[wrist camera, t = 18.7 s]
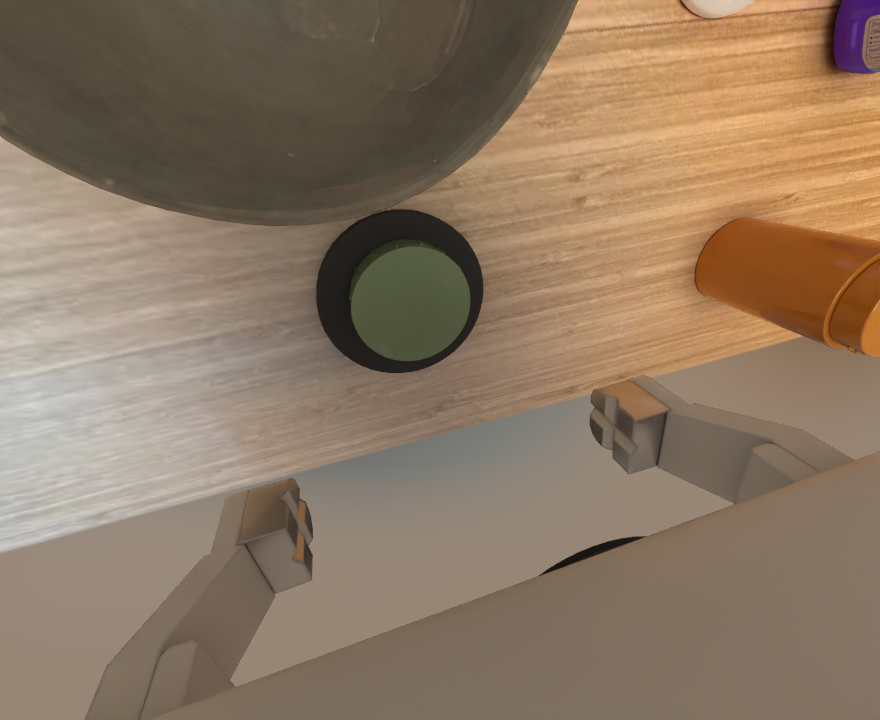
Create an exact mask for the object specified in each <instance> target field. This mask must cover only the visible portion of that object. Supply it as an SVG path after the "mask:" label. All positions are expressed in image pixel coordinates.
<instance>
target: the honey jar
mask: <svg viewBox="0 0 880 720" xmlns="http://www.w3.org/2000/svg"><path fill="white" fill-rule="evenodd" d="M695 278H696V284H697V287H698V289H699V291H700V292H701V293H702V294H703V295H704V296H706V297H708V298H710V299H713V300H715V301H718V302H720V303H723V304H725V305H728V306H730V307H733V308H735V309H738V310H740V311H743V312H745V313H748V314H750V315H752V316H755V317H757V318H760V319H762V320H765V321H767V322H770V323H772V324H775V325H777V326H780V327H782V328H785V329H787V330H790V331H792V332H795V333H797V334H800V335H802V336H805V337H807V338H810V339H812V340H815V341H817V342H820V343H822V344H824V345H827V346H829V347H832V348H836V349H844V348H847V349H849V350H850V351H851V352H854V353H857V354H864V355H867V356H874V357H878V356H880V241H877V240H871V239H866V238H860V237H854V236H849V235H843V234H838V233H832V232H826V231H821V230H815V229H810V228H804V227H798V226H793V225H787V224H782V223H776V222H770V221H765V220H759V219H754V218H741V219H738V220H735V221H732V222H730V223H729V224H727V225H725V226H724V227H723V228H721V229H720V230H719V231H718V232H717V233H716V234H715V235H714V236H713V237H712V238H711V239H710V241H709V242H708V243H707V245H706V246H705V248H704V249H703V251H702V253H701V255H700V258H699V260H698V263H697V267H696V274H695Z"/></svg>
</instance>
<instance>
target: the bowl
mask: <svg viewBox="0 0 880 720" xmlns="http://www.w3.org/2000/svg"><path fill="white" fill-rule="evenodd" d="M577 1H578V0H0V136H1V137H2V138H4V139H5V140H7V141H8V142H10V143H12V144H13V145H15V146H17V147H18V148H20V149H21V150H23V151H25V152H26V153H28V154H30V155H32V156H34V157H35V158H37V159H39V160H41V161H43V162H45V163H47V164H49V165H51V166H53V167H55V168H57V169H59V170H61V171H63V172H65V173H67V174H69V175H71V176H74V177H76V178H78V179H80V180H82V181H85V182H87V183H89V184H91V185H93V186H96V187H98V188H100V189H103V190H106V191H109V192H112V193H115V194H118V195H121V196H124V197H127V198H129V199H132V200H135V201H138V202H141V203H144V204H148V205H151V206H155V207H159V208H163V209H166V210H170V211H175V212H179V213H184V214H188V215H193V216H198V217H203V218H208V219H213V220H218V221H226V222H234V223H242V224H252V225H266V226H288V225H311V224H319V223H328V222H334V221H340V220H346V219H351V218H355V217H359V216H363V215H366V214H370V213H373V212H377V211H379V210H382V209H385V208H388V207H390V206H392V205H395V204H397V203H400V202H402V201H404V200H406V199H408V198H410V197H412V196H414V195H416V194H418V193H420V192H422V191H424V190H426V189H428V188H429V187H431V186H433V185H435V184H436V183H438V182H439V181H441V180H442V179H444V178H445V177H447V176H448V175H450V174H451V173H453V172H454V171H455V170H457V169H458V168H459V167H461V166H462V165H463V164H464V163H466V162H467V161H468V160H469V159H471V158H472V157H473V156H474V155H476V154H477V153H478V152H479V151H480V150H481V149H482V148H483V147H484V146H485V145H486V144H487V143H488V142H489V141H490V140H491V139H492V138H493V137H494V136H495V134H496V133H497V132H498V131H499V130H500V128H501V127H502V126H503V125H504V124H505V122H506V121H507V120H508V119H509V118H510V116H511V115H512V114H513V113H514V112H515V110H516V109H517V108H518V106H519V105H520V104H521V102H522V101H523V99H524V98H525V97H526V95H527V94H528V92H529V91H530V89H531V88H532V87H533V85H534V84H535V82H536V81H537V79H538V78H539V76H540V75H541V73H542V71H543V70H544V68H545V66H546V64H547V62H548V61H549V59H550V57H551V55H552V53H553V52H554V50H555V48H556V46H557V44H558V43H559V41H560V39H561V37H562V35H563V34H564V32H565V30H566V28H567V25H568V23H569V20H570V18H571V16H572V13H573V11H574V9H575V6H576V4H577Z"/></svg>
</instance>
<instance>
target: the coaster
mask: <svg viewBox="0 0 880 720" xmlns="http://www.w3.org/2000/svg"><path fill="white" fill-rule="evenodd" d="M416 238H417V239H419V240H420V241H424V242H427V243H429V244H432V245H434V246H435V247H440V248H441V249H442V250H443V251H444V252H445V254H446V255H447V256H448V257H449V258H451V259H452V260H453V261H454V262H455V263H456V264H457V265H458V266H459V267H460V268H461V271H462V272H463V274H464V276H465V278H466V280H467V283H468V286H469V291H470V310H469V314H468V318H467V320H466V323H465V325H464V327H463V329H462V331H461V332H460V334H459V335H458V336H457V338H456V339H455V340H454V341H453V342H452V343H451V344H450V345H449V346H448V347H446V348H445V349H444V350H442V351H441V352H439V353H437V354H435V355H433V356H431V357H428V358H425V359H421V360H416V361H399V360H393V359H390V358H387V357H384V356H382V355H380V354H378V353H376V352H375V351H373V350H372V349H371V348H370V347H368V346H367V345H366V344H365V343H364V341H363V340H362V339H361V337H360V336H359V334H358V333H357V331H356V329H355V326H354V323H353V322H352V320H351V315H350V312H351V309H350V303H349V295H348V290H350V284H351V280H352V278H353V275H354V273H355V268H357V267H358V266H359V264H360V263H361V262H362V260H363V259H364V258H365V257H366V256H367V255H368V254H369V253H371V250H372V251H373V250H375V249H376V248H378V247H380V246H381V245H383V244H386V243H388V242H392V240H393V239H394V240H395V241H396V240H402V239H414V240H416ZM482 299H483V278H482V273H481V268H480V265H479V262H478V259H477V257H476V255H475V253H474V251H473V250H472V248H471V247H470V245H469V244H468V242H467V241H466V240H465V239H464V238H463V236H462V235H461V234H460V233H459V232H457V231H456V230H455V229H454V228H453V227H451V226H450V225H448V224H447V223H445V222H443V221H442V220H440V219H438V218H436V217H434V216H432V215H429V214H426V213H422V212H419V211H412V210H390V211H384V212H380V213H376V214H373V215H370V216H368V217H366V218H364V219H362V220H360V221H358V222H357V223H355V224H353V225H352V226H350V227H349V228H348V229H347V230H346V231H344V232H343V233H342V234H341V235H340V236H339V237H338V238H337V240H336V241H335V242H334V243H333V244H332V246H331V247H330V249H329V250H328V252H327V254H326V256H325V258H324V260H323V262H322V265H321V268H320V271H319V274H318V280H317V299H316V300H317V308H318V313H319V317H320V321H321V323H322V325H323V328H324V330H325V332H326V334H327V335H328V337H329V338H330V340H331V341H332V343H333V344H334V345H335V346H336V347H337V348H338V349H339V350H340V351H341V352H342V353H343V354H344V355H345V356H347V357H348V358H349V359H351V360H352V361H354V362H356V363H358V364H360V365H361V366H364V367H367V368H369V369H372V370H376V371H380V372H388V373H405V372H412V371H417V370H421V369H424V368H427V367H429V366H432V365H434V364H436V363H438V362H440V361H441V360H443V359H444V358H446V357H447V356H449V355H450V354H451V353H453V352H454V351H455V350H456V349H457V348H458V347H459V346H460V345H461V344H462V343H463V342H464V340H465V339H466V338H467V337H468V335H469V333H470V332H471V330H472V329H473V327H474V325H475V323H476V321H477V318H478V315H479V312H480V309H481V304H482Z"/></svg>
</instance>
